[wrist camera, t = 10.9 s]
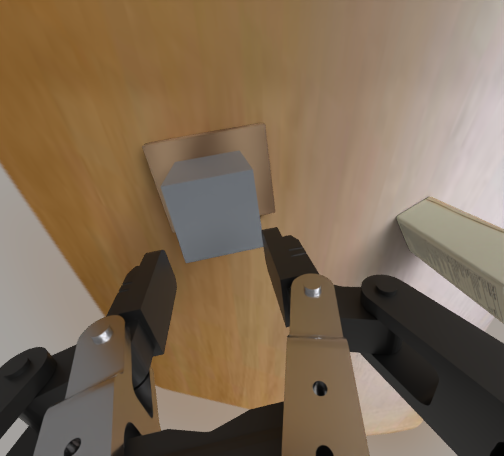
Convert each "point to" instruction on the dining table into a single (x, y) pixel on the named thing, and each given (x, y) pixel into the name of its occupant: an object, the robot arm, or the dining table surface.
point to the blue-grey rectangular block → (213, 205)
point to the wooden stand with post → (212, 143)
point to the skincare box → (459, 250)
